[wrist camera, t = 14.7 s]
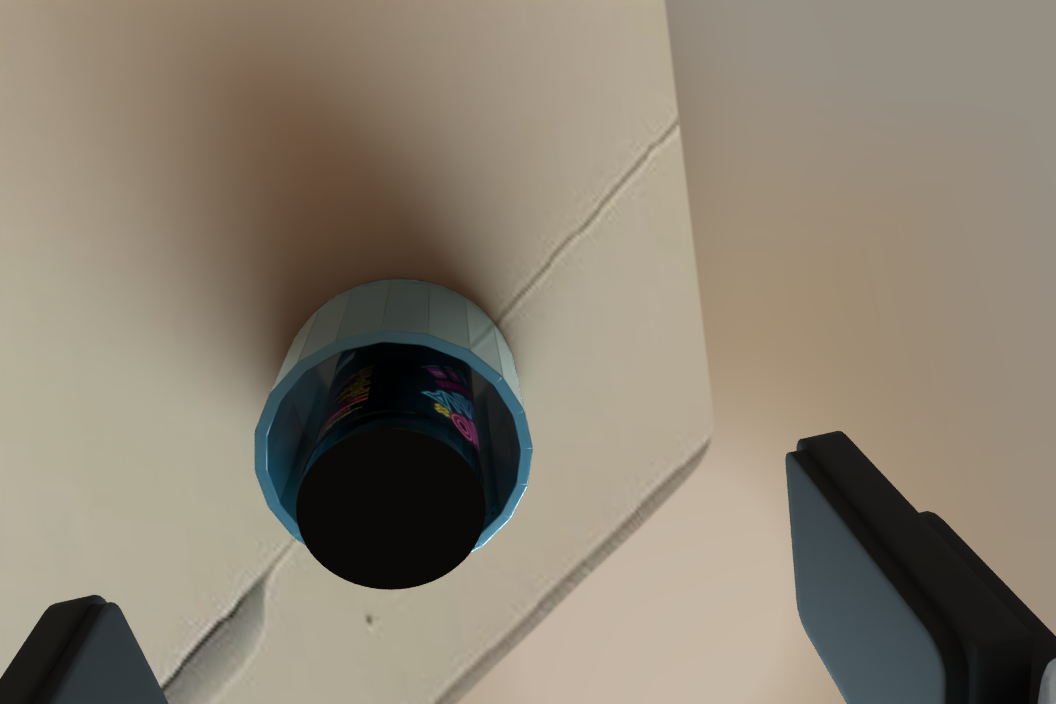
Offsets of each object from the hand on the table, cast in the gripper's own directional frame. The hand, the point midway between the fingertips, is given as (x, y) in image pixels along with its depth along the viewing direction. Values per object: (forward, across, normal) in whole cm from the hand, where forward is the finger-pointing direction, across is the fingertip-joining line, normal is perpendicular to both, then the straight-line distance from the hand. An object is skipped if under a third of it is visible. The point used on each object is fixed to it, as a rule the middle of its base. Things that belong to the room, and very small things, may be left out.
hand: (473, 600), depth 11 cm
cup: (+27, +5, +9) cm, 29 cm away
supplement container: (+26, +4, +9) cm, 28 cm away
